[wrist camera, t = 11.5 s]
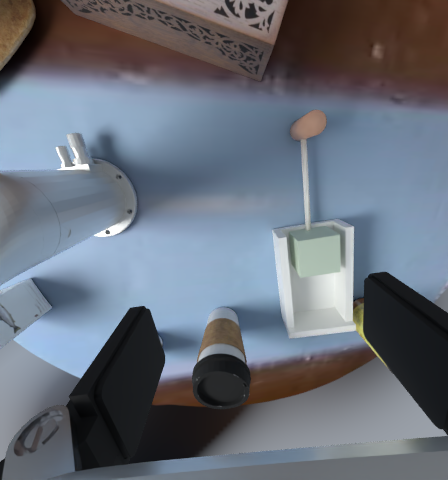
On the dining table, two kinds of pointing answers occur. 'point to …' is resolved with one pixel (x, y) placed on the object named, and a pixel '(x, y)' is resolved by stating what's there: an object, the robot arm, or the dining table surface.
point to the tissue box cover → (197, 27)
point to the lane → (316, 287)
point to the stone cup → (14, 26)
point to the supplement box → (20, 309)
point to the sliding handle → (310, 239)
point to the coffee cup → (221, 363)
